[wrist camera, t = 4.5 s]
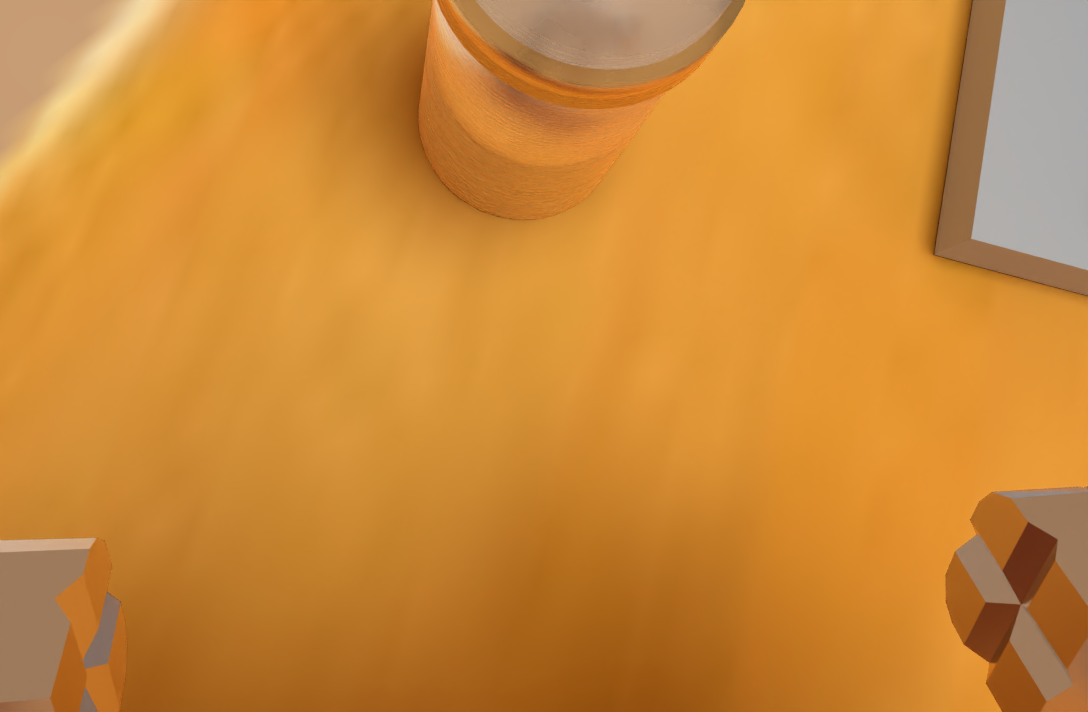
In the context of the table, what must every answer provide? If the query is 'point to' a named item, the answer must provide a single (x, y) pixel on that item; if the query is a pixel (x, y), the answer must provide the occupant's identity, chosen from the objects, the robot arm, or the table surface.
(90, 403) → the table surface
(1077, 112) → the plate
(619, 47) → the clear cylindrical piece
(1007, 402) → the table surface
